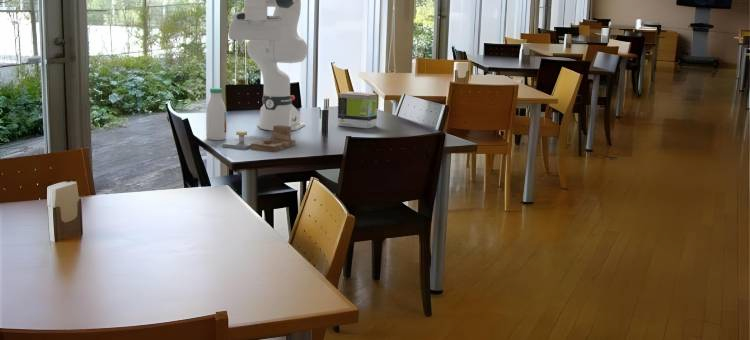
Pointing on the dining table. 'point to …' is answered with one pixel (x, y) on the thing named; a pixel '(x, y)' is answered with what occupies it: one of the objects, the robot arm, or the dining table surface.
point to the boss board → (244, 145)
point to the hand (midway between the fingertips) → (255, 52)
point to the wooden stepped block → (276, 140)
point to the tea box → (357, 109)
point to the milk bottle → (216, 116)
